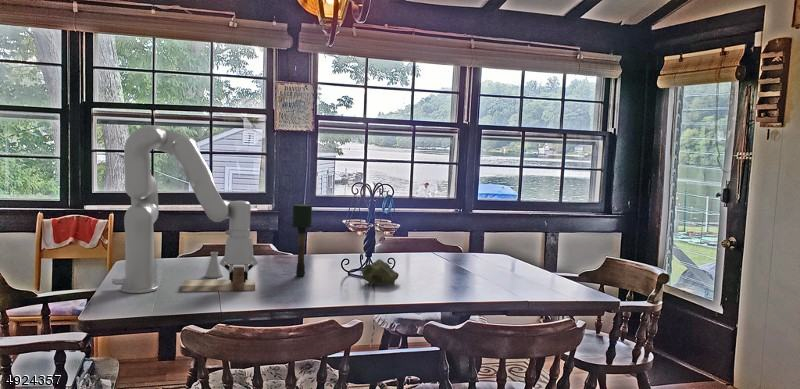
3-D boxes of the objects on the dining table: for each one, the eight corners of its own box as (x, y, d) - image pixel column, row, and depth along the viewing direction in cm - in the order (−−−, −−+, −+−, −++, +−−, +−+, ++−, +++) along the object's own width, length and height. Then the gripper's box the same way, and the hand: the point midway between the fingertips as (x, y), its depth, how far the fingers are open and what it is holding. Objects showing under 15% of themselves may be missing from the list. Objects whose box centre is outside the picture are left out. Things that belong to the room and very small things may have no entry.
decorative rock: (407, 284, 247) (408, 260, 246) (384, 290, 234) (385, 265, 233) (378, 278, 256) (379, 255, 255) (354, 284, 243) (355, 260, 242)
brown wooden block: (232, 290, 223) (233, 270, 222) (233, 282, 236) (233, 262, 236) (243, 290, 224) (244, 270, 223) (243, 282, 237) (244, 262, 237)
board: (181, 291, 220) (181, 285, 220) (184, 285, 230) (184, 279, 229) (255, 290, 227) (255, 284, 226) (254, 284, 236) (254, 278, 236)
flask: (220, 278, 243) (220, 254, 242) (202, 278, 243) (202, 253, 242) (225, 275, 250) (225, 251, 250) (207, 274, 250) (208, 250, 249)
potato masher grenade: (314, 275, 257) (316, 205, 254) (303, 278, 249) (305, 206, 247) (297, 272, 260) (299, 203, 258) (286, 276, 252) (288, 205, 250)
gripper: (215, 235, 220) (214, 284, 222) (262, 235, 225) (261, 283, 226) (216, 232, 228) (215, 280, 229) (262, 232, 232) (260, 279, 233)
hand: (238, 281), depth 227 cm, fingers closed on brown wooden block, 4 cm apart
